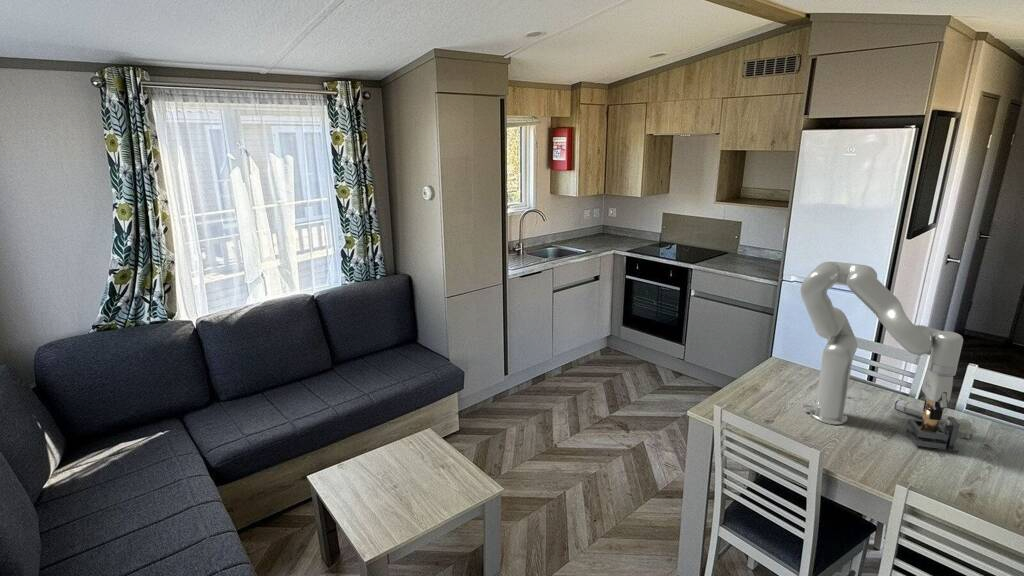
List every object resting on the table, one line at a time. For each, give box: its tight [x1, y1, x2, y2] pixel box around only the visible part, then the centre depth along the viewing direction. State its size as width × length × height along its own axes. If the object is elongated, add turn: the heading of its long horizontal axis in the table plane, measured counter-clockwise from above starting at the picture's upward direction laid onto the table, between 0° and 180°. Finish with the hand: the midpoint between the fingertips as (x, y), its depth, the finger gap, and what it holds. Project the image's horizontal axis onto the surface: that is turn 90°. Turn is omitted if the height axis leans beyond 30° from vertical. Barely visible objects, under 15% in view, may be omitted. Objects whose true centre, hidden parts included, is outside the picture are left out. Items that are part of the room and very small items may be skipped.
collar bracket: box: [905, 416, 960, 454], centre depth 188 cm, size 9×13×10 cm
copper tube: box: [920, 397, 941, 432], centre depth 186 cm, size 4×4×14 cm
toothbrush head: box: [893, 399, 976, 440], centre depth 201 cm, size 5×7×25 cm
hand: (931, 415), depth 186 cm, fingers closed on copper tube, 4 cm apart
